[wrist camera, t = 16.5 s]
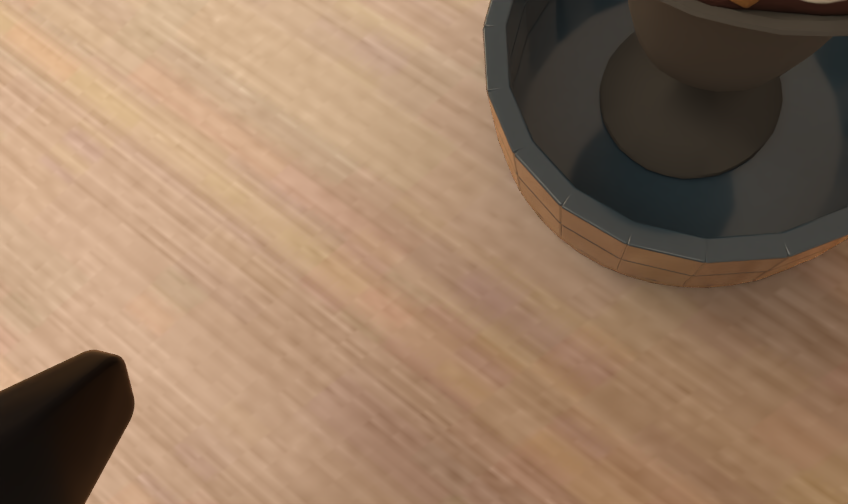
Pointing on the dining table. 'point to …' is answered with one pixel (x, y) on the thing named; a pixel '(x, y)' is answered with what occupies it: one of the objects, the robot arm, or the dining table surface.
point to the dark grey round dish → (649, 191)
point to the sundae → (708, 78)
